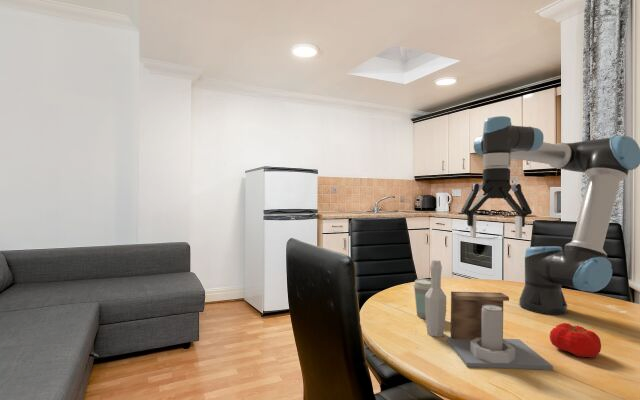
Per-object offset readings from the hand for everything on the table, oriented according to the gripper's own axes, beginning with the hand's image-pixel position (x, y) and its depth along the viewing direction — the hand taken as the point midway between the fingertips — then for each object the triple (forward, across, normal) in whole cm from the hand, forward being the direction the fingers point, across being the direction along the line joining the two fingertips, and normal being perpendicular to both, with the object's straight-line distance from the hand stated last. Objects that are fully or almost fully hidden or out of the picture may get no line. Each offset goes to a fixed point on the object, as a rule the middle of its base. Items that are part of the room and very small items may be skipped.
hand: (495, 237), depth 110 cm
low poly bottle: (+29, +19, +4) cm, 35 cm away
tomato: (+29, -15, +14) cm, 36 cm away
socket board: (+29, +7, +17) cm, 34 cm away
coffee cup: (+29, +18, -12) cm, 36 cm away
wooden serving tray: (+29, +9, +11) cm, 32 cm away
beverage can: (+28, +9, +20) cm, 36 cm away
